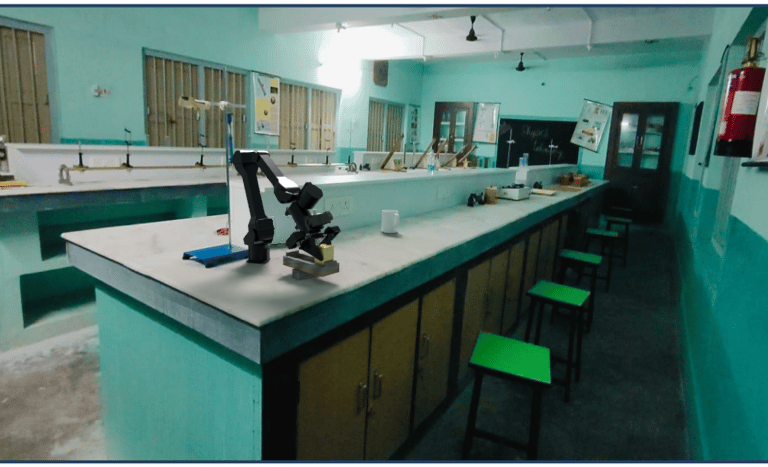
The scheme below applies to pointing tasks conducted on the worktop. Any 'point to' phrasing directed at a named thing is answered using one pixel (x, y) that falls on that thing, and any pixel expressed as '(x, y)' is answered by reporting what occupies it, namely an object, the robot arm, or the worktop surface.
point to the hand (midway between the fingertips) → (327, 259)
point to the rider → (325, 253)
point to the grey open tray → (308, 265)
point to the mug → (389, 221)
